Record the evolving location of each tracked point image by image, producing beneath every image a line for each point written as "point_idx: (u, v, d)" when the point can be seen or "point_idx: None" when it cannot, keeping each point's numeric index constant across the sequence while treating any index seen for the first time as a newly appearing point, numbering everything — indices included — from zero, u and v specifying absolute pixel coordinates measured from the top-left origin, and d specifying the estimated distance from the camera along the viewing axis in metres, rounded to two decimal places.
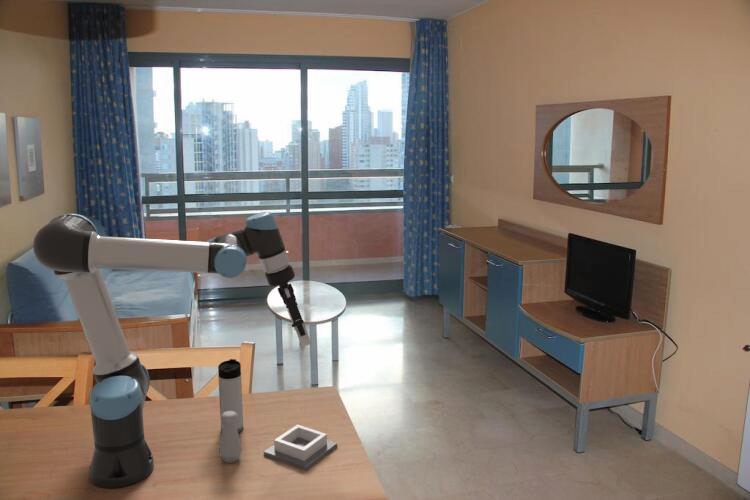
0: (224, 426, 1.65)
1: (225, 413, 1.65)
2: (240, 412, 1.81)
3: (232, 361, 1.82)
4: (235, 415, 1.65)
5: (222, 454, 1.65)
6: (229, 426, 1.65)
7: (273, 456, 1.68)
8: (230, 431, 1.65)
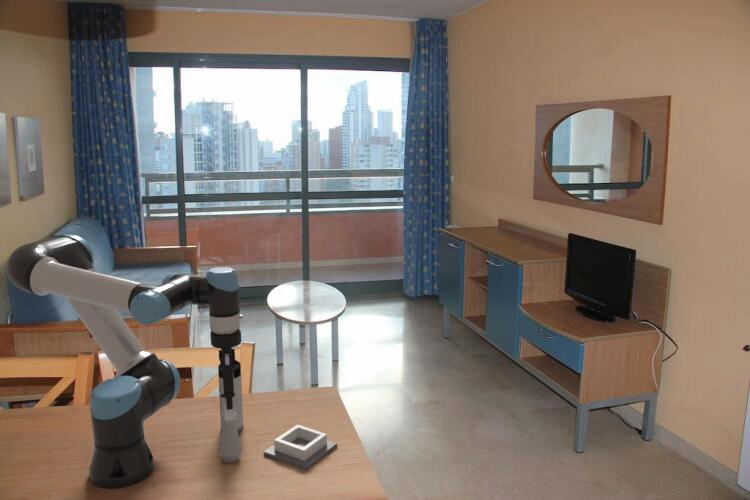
0: (224, 426, 1.65)
1: None
2: (240, 412, 1.81)
3: None
4: None
5: (222, 454, 1.65)
6: (229, 426, 1.65)
7: (273, 456, 1.68)
8: (230, 431, 1.65)
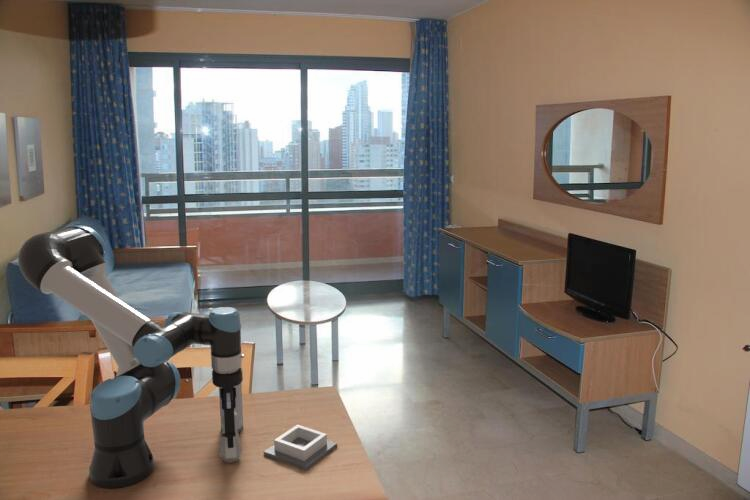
0: (224, 426, 1.65)
1: None
2: (240, 412, 1.81)
3: None
4: (235, 415, 1.65)
5: (222, 454, 1.65)
6: None
7: (273, 456, 1.68)
8: None
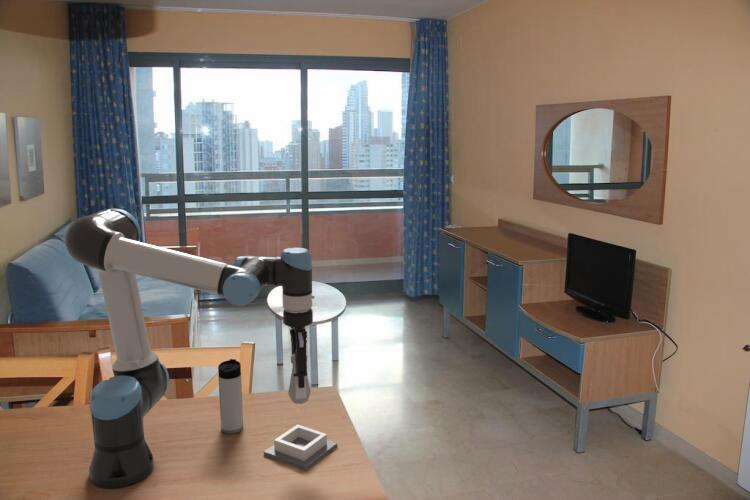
0: (294, 367, 1.66)
1: None
2: (240, 412, 1.81)
3: (232, 361, 1.82)
4: None
5: (292, 395, 1.66)
6: None
7: (273, 456, 1.68)
8: None
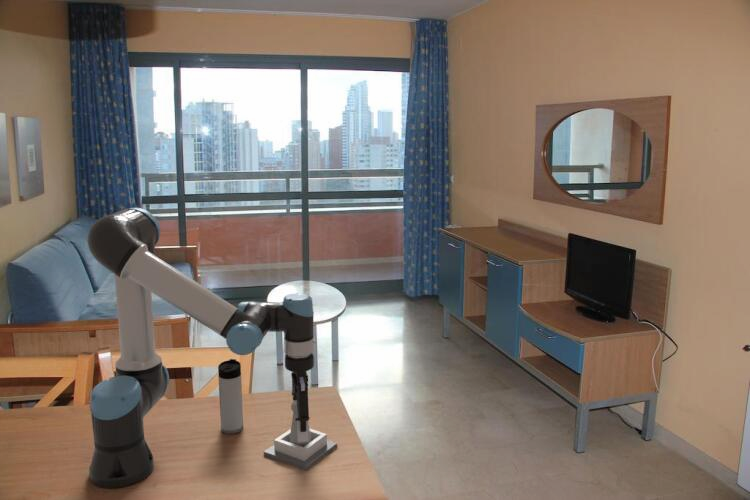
0: (295, 414, 1.69)
1: (295, 401, 1.70)
2: (240, 412, 1.81)
3: (232, 361, 1.82)
4: None
5: (293, 442, 1.69)
6: None
7: (273, 456, 1.68)
8: None
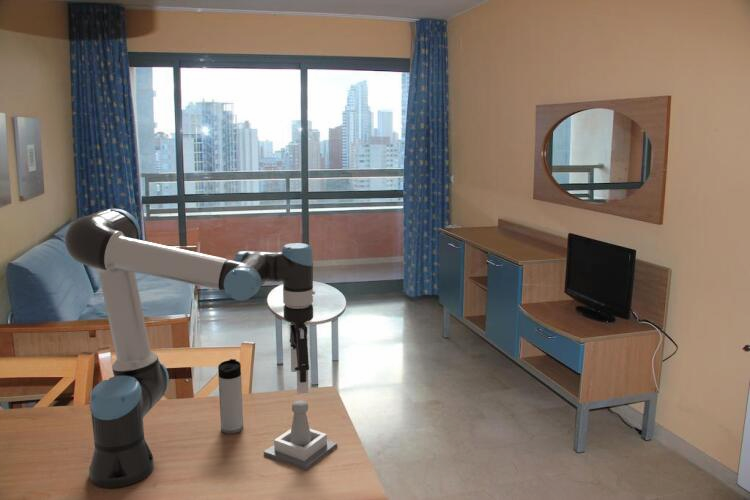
0: (295, 415, 1.69)
1: (296, 402, 1.69)
2: (240, 412, 1.81)
3: (232, 361, 1.82)
4: (306, 404, 1.69)
5: (293, 442, 1.69)
6: (300, 415, 1.69)
7: (273, 456, 1.68)
8: (301, 420, 1.69)
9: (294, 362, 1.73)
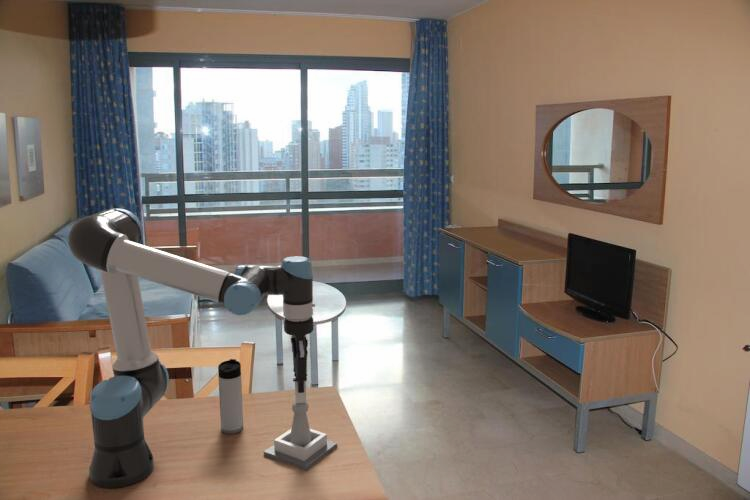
0: (295, 415, 1.69)
1: None
2: (240, 412, 1.81)
3: (232, 361, 1.82)
4: (306, 404, 1.69)
5: (293, 442, 1.69)
6: (300, 415, 1.69)
7: (273, 456, 1.68)
8: (301, 420, 1.69)
9: None
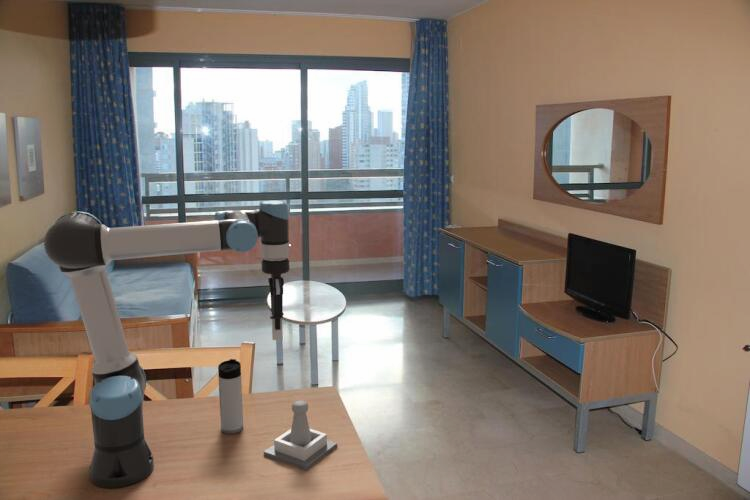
0: (295, 415, 1.69)
1: (296, 402, 1.69)
2: (240, 412, 1.81)
3: (232, 361, 1.82)
4: (306, 404, 1.69)
5: (293, 442, 1.69)
6: (300, 415, 1.69)
7: (273, 456, 1.68)
8: (301, 420, 1.69)
9: None
